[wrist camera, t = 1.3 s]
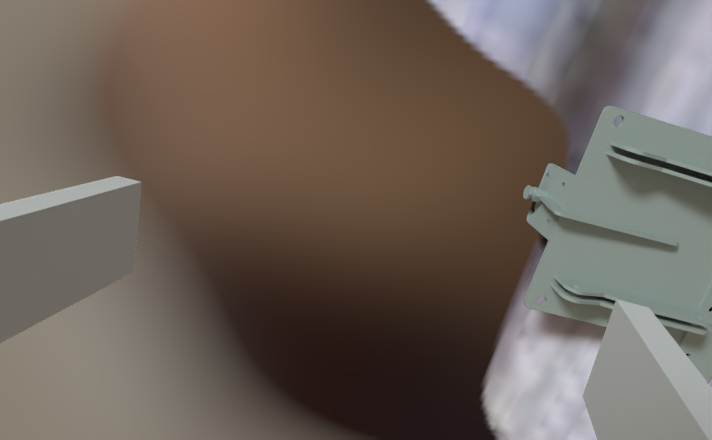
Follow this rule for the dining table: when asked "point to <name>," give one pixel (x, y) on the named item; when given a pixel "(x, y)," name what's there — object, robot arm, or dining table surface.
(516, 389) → the dining table surface
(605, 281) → the metal bracket
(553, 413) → the dining table surface
